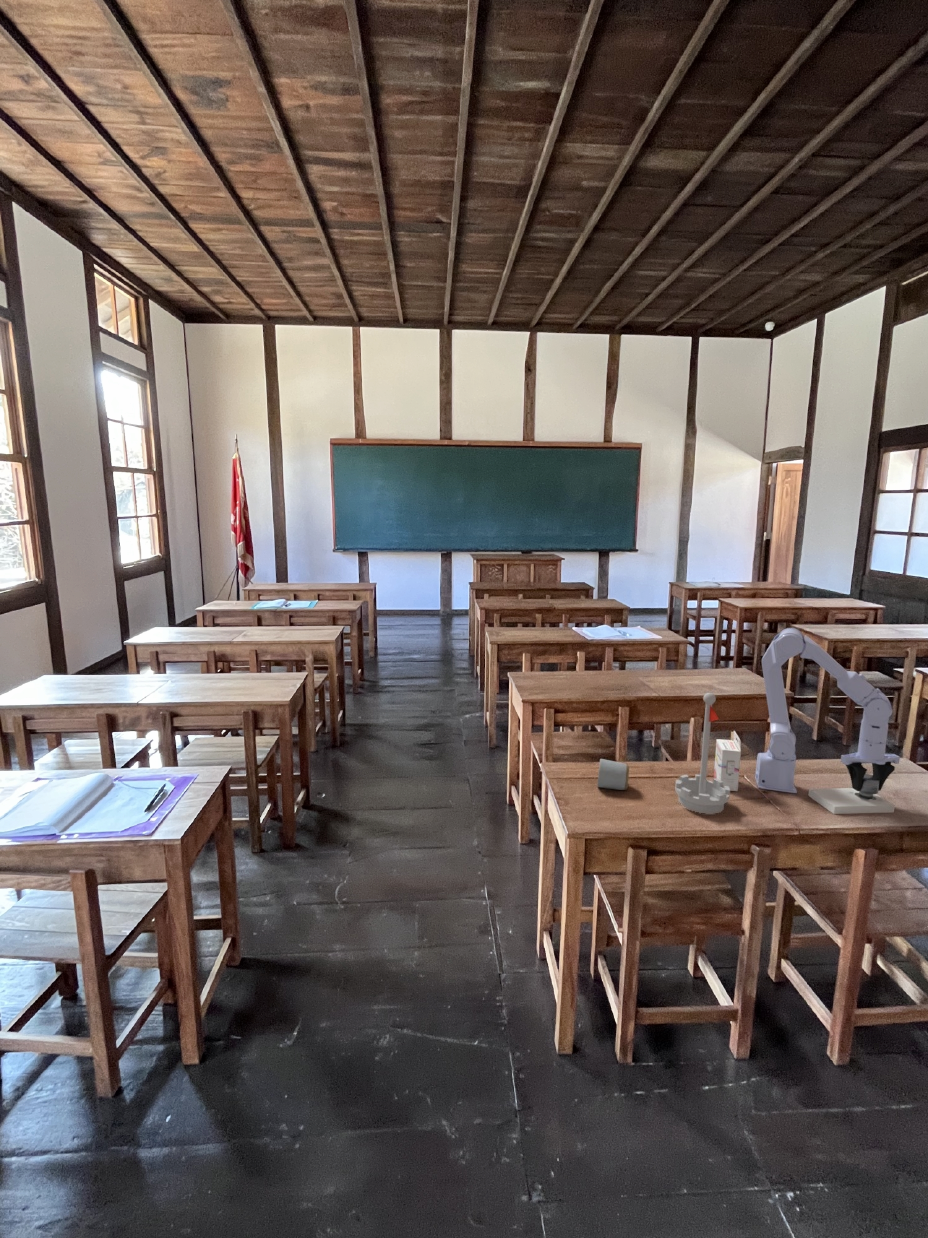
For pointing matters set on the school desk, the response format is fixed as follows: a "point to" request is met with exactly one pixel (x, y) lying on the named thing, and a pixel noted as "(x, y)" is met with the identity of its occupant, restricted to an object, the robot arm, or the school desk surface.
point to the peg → (869, 786)
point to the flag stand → (703, 776)
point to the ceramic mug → (613, 775)
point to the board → (849, 801)
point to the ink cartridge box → (728, 762)
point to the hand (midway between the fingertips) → (866, 789)
